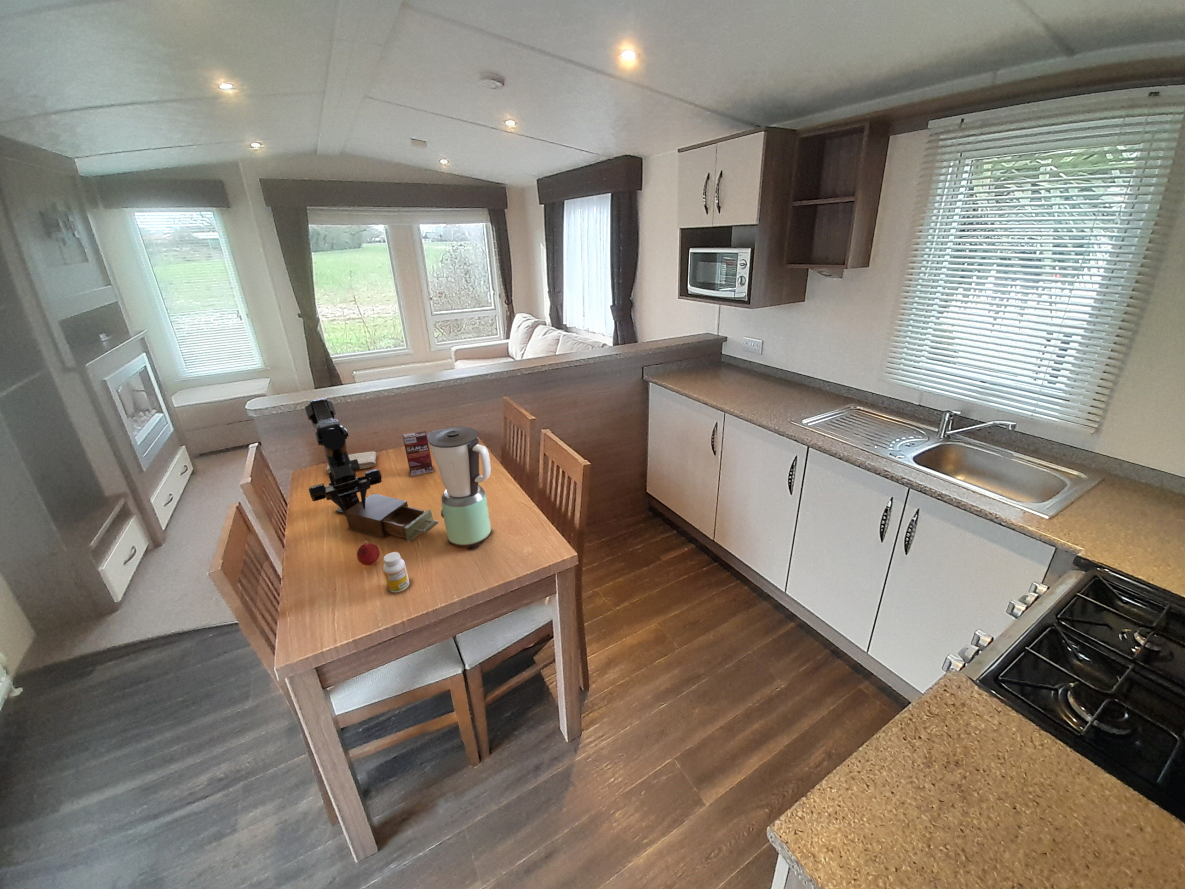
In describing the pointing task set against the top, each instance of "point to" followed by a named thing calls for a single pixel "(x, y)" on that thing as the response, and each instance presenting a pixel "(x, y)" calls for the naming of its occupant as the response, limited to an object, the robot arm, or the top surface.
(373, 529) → the cabinet
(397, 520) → the drawer
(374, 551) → the onion
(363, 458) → the washcloth
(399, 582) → the supplement bottle
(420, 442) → the supplement box
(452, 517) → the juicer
